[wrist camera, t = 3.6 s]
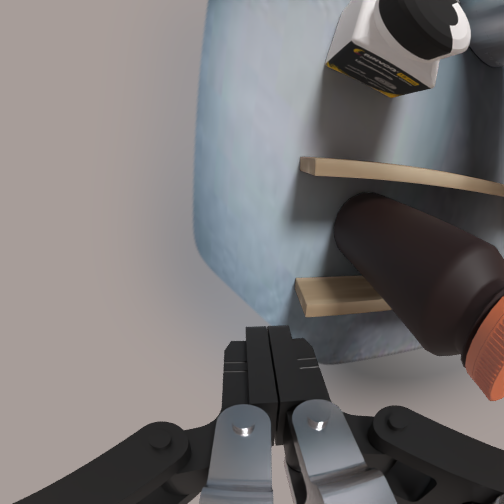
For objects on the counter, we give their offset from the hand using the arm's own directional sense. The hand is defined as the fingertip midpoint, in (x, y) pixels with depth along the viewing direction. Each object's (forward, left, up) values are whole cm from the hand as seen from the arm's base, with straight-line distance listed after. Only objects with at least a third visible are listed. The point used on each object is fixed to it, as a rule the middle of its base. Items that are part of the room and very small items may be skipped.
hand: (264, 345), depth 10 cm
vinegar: (0, +11, -16) cm, 20 cm away
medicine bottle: (-17, +11, -16) cm, 26 cm away
